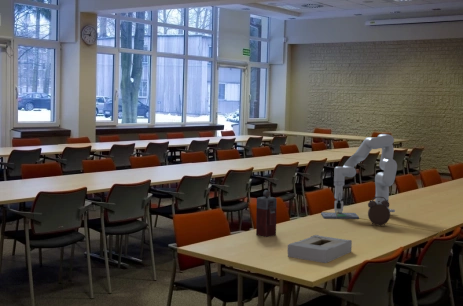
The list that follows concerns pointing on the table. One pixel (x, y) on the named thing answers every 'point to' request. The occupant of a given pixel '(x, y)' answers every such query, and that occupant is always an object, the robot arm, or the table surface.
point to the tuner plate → (340, 215)
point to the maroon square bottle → (266, 215)
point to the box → (319, 248)
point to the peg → (338, 211)
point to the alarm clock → (378, 212)
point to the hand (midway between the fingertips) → (338, 208)
